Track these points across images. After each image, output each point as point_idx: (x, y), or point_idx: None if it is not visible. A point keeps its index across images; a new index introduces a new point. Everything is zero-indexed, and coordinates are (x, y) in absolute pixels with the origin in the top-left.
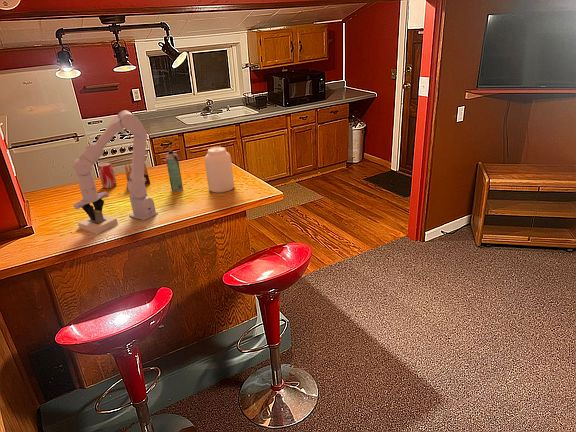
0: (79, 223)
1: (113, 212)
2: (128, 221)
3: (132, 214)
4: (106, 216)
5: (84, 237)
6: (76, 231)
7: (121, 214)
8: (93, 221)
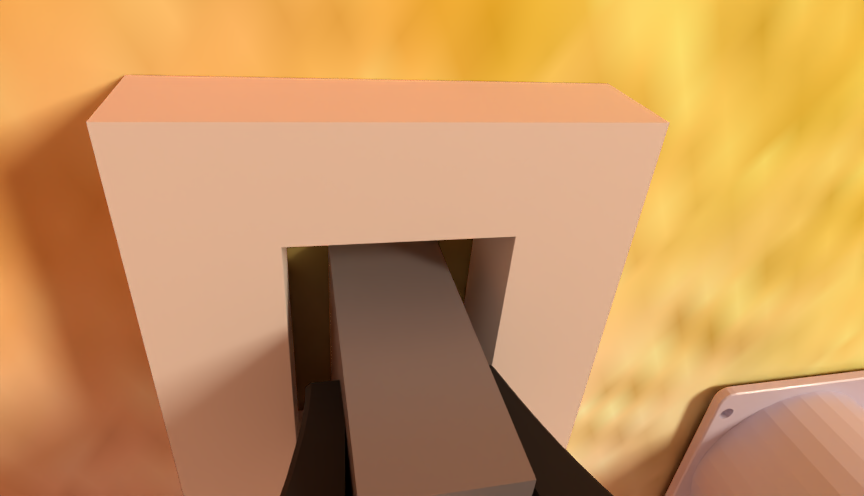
0: (107, 196)
1: (837, 105)
2: (601, 461)
3: (746, 409)
4: (567, 369)
5: (30, 442)
6: (8, 171)
7: (766, 268)
8: (337, 363)
